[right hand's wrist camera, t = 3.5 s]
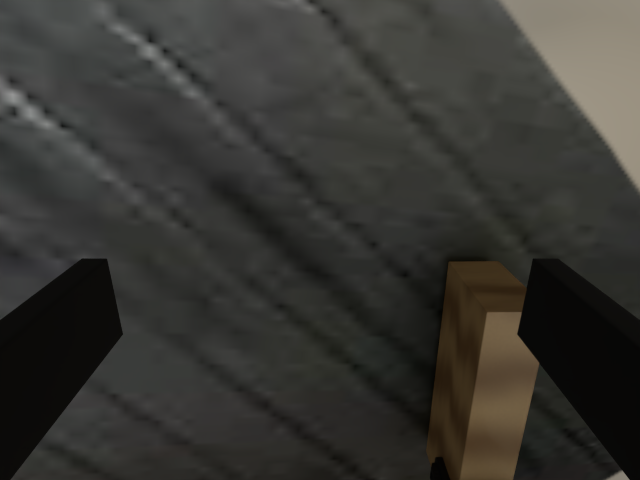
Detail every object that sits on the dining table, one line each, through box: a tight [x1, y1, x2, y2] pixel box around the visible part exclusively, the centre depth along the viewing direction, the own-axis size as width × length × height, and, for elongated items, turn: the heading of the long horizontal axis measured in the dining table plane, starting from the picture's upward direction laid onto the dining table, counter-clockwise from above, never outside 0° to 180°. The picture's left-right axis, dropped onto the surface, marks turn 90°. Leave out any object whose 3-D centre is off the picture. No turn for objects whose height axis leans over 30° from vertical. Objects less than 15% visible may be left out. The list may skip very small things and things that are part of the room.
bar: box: [426, 261, 539, 480], centre depth 39 cm, size 24×5×9 cm, turn 0°
